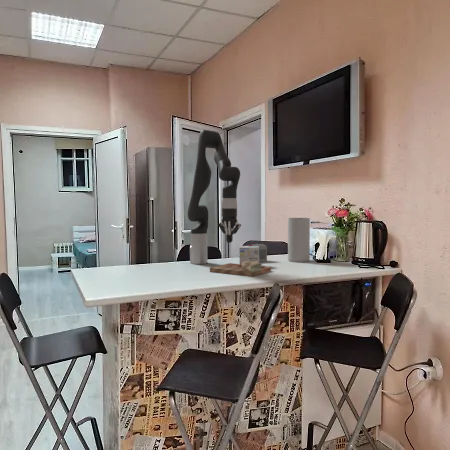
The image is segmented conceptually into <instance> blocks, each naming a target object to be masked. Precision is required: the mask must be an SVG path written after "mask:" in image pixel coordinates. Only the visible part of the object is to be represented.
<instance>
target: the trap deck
mask: <svg viewBox="0 0 450 450" xmlns="http://www.w3.org/2000/svg"><path fill="white" fill-rule="evenodd" d="M271 271H272V267H271V266H265V265H263V264H262V263H260V262H259V264H256V265H252V266H251V271H242V264H240V263H233V262H232V263H231V262H229V263H225V264H221V265H220V264H219V265H216V266H212V267H209V273H217V274H227V275H233V276H234V275H236V276H243V277H244V276H246V277H256V276H260V275H261V274H262V273H263V274H266V273H269V272H271Z"/></svg>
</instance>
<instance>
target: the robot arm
mask: <svg viewBox="0 0 450 450" xmlns="http://www.w3.org/2000/svg"><path fill="white" fill-rule="evenodd" d="M197 143H198V144H197V157H196V164H195V169H194V175H193V185H192V190H191V196H190V200H189V204H188V207H187V208H188V209H187V218H188V220H189V221H190V222H194V223H195V222H197V224H196V225H195V226H193V227H192V228H191V229H190V242H191V243H190V246H189V263H190V264H193V265H203V264H204V265H205V264H208V228H209V209H208V207H207V206H206V205H204V204H201V205H200V201H201V198H202V196H203V195H204V194H205V192H206V191H207V190H208V188H209V186H210V184H211V181H212V179H211V178H212V169H211V166H210V165H209V162H208V160H207V156H206V155H207V154H206V150H207V149H215V152H214V153H213V160H214V163H215V165H216V166H217V171H218V178H219V179H220V180H221V181H223V182H230V184H229V185H225V186H223V187H222V196H221V197H222V198H221V217H222V219H221V221H220V222H218V224H217V226H218V227H219V229H220V231H221V232H222V234H225V238H226V239H225V240H226V243H229V244H230V243H232V242H233V237H234V236H233V235H236V234H237V232H238V231H239V229H240V228H241V226H242V224H241V223H239V222H238V218H237V217H238V200H237V199H238V196H237V194H238V193H237V192H238V191H237V190H238V185H239V181H240V178H241V171H240V169H239V167H237V166H232V162H231V160H230V158H229V156H228V154H227V152H226V149H225V147H224V146H225V145H224V143H223V140H222V137H221V135H220V133H219V132H218V131H215V130H208V129H202V130H201V131H200V132H199V135H198V142H197Z"/></svg>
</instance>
